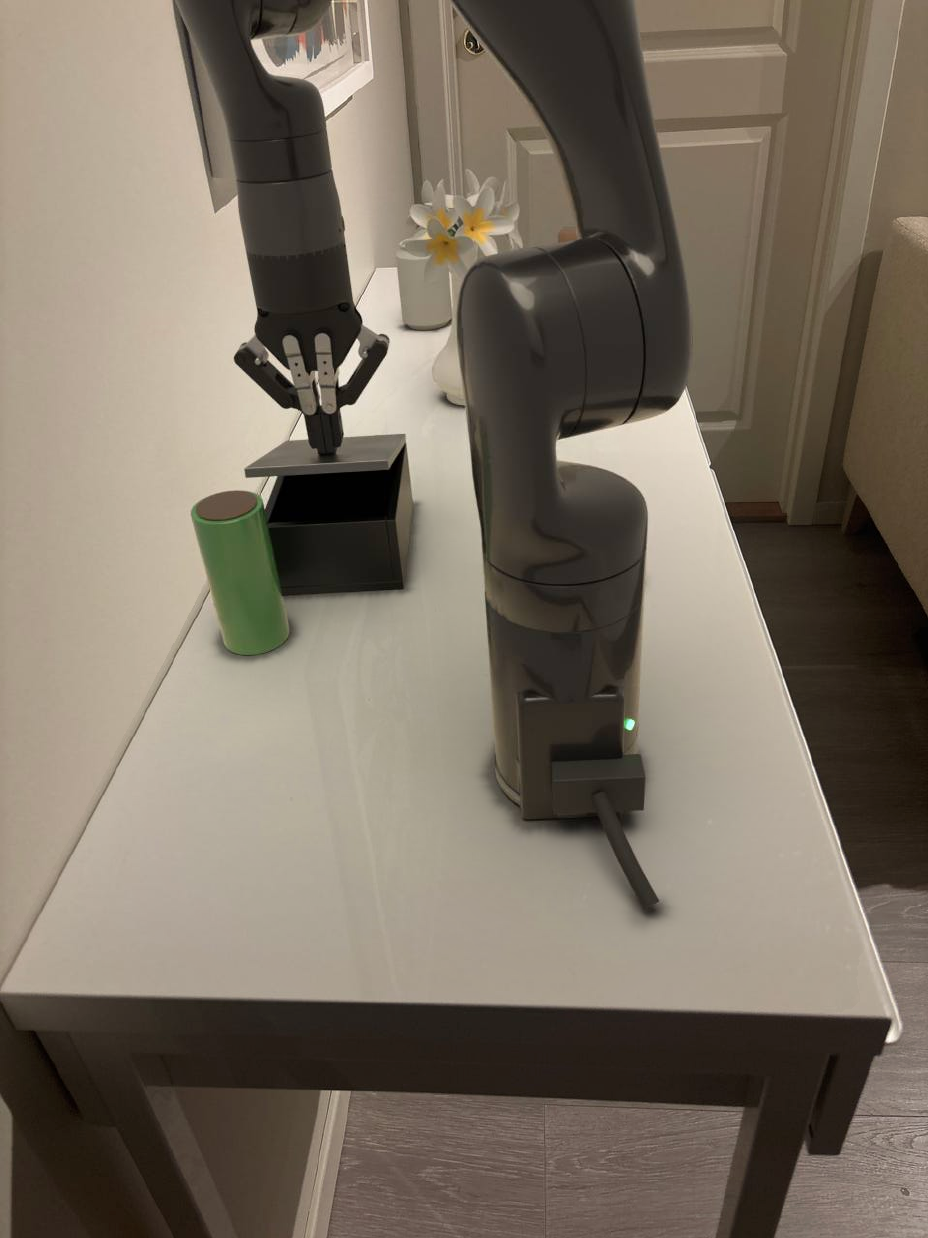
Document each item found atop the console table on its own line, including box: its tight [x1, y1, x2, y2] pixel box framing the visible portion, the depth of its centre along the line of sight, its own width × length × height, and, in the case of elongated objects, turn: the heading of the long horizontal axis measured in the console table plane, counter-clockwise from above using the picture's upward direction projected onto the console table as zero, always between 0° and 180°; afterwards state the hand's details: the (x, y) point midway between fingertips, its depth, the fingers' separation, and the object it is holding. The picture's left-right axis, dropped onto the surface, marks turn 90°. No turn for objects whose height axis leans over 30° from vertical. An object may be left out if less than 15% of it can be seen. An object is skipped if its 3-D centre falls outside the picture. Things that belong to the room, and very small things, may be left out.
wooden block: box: [557, 226, 577, 243], centre depth 155 cm, size 4×4×8 cm
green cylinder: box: [190, 489, 291, 656], centre depth 75 cm, size 5×5×12 cm
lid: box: [243, 433, 407, 479], centre depth 84 cm, size 16×12×1 cm
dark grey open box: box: [264, 441, 414, 596], centre depth 88 cm, size 16×12×7 cm
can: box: [395, 237, 453, 331], centre depth 141 cm, size 8×8×12 cm
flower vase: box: [405, 168, 524, 406], centre depth 111 cm, size 13×18×25 cm
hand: (328, 450), depth 82 cm, fingers closed
